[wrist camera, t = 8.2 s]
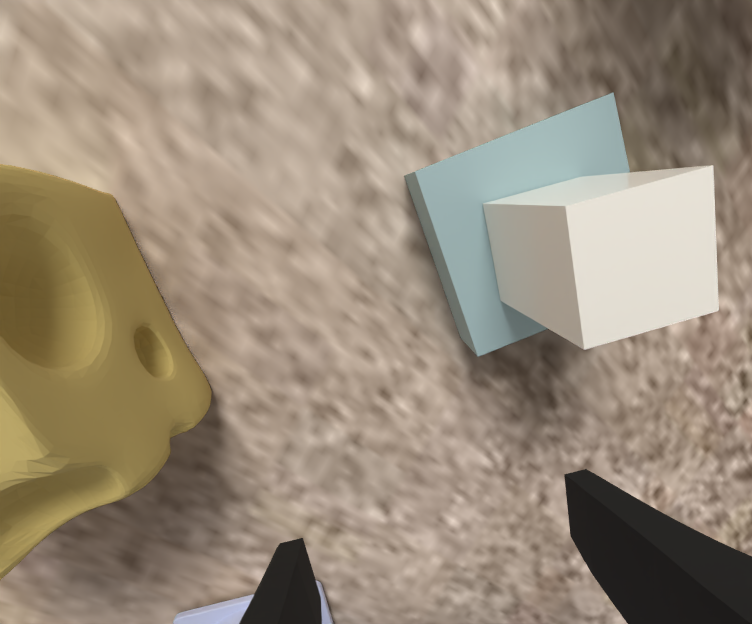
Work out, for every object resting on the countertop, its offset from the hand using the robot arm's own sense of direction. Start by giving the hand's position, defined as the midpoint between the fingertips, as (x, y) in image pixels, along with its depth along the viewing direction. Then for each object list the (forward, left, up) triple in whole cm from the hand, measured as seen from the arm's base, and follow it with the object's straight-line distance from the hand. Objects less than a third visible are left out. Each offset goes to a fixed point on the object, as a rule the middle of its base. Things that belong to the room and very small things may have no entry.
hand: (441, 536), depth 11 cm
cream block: (+6, -7, -7) cm, 12 cm away
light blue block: (+6, -7, -10) cm, 14 cm away
